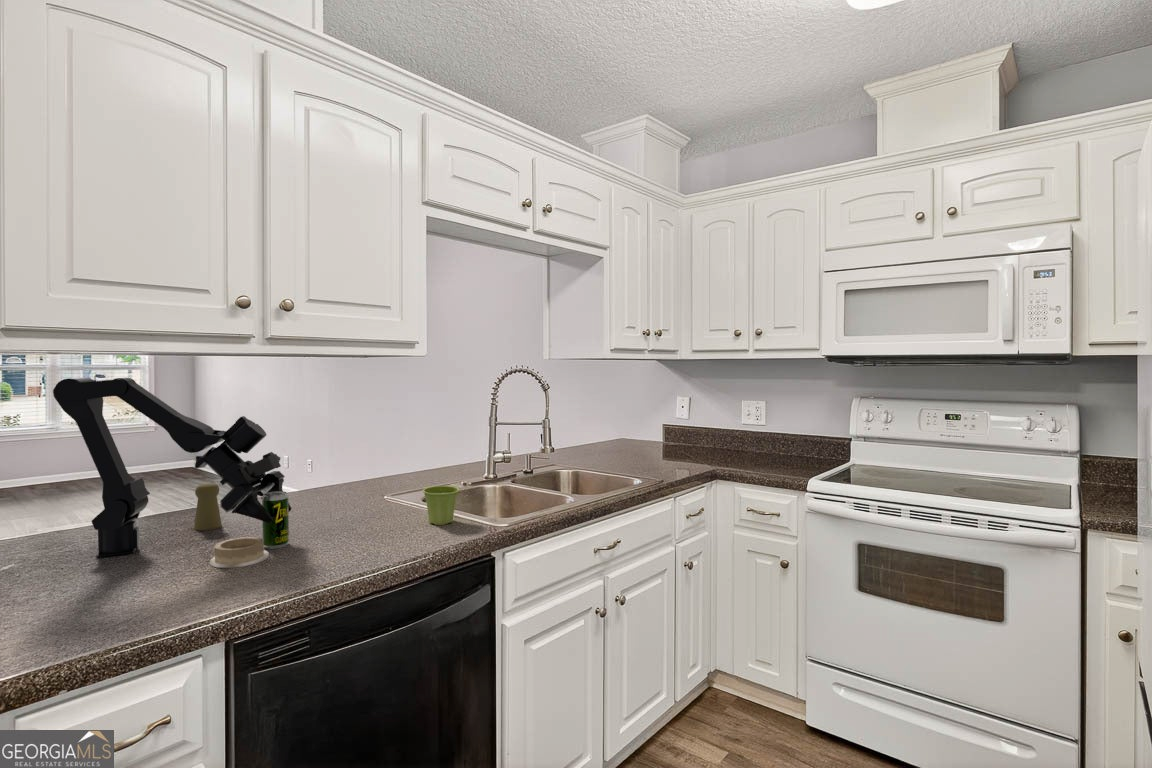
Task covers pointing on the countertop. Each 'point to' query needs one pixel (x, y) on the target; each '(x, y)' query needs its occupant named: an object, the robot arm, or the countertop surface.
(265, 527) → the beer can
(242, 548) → the can holder
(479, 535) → the countertop surface
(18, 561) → the countertop surface
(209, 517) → the cork
